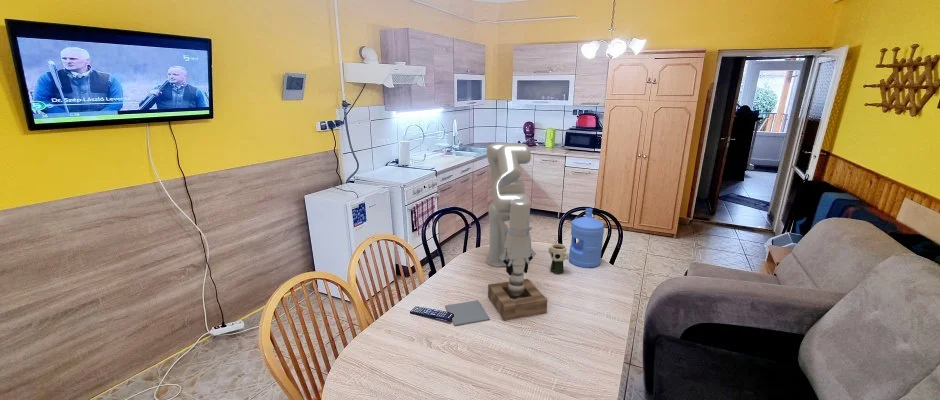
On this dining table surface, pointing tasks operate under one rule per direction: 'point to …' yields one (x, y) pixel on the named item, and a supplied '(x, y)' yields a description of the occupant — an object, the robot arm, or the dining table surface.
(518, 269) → the plastic bottle
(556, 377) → the dining table surface
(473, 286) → the dining table surface
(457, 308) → the pad
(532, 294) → the bore block
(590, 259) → the water jug
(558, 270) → the character mug
